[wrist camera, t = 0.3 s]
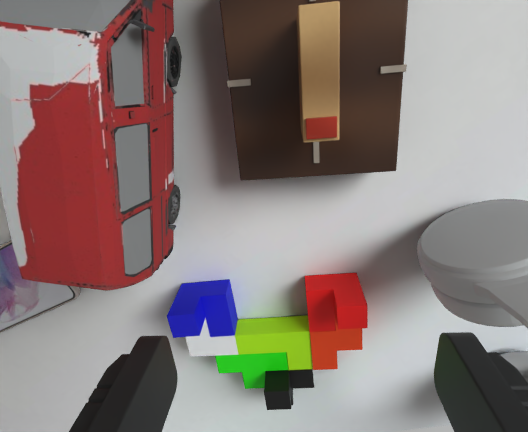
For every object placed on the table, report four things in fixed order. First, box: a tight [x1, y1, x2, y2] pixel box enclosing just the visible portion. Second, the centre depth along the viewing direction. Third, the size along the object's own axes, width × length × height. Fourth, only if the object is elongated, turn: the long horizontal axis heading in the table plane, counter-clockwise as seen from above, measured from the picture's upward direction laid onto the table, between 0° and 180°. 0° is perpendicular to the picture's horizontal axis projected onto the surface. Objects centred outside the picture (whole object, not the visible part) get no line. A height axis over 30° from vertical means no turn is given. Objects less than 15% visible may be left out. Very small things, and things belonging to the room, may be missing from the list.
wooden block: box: [296, 1, 340, 143], centre depth 17 cm, size 6×2×4 cm, turn 5°
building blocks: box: [167, 273, 367, 410], centre depth 29 cm, size 15×13×4 cm
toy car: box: [0, 0, 182, 290], centre depth 20 cm, size 9×18×10 cm, turn 169°
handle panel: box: [220, 0, 408, 180], centre depth 21 cm, size 12×10×3 cm
